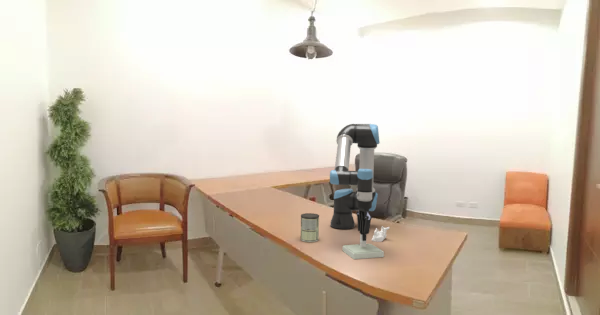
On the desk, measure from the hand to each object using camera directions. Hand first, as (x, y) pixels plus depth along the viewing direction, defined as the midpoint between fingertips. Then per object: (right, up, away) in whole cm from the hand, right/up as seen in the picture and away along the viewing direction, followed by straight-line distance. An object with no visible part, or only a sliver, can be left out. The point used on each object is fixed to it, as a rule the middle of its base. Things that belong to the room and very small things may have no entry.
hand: (362, 246), depth 201 cm
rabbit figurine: (+14, -3, +23) cm, 27 cm away
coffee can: (-26, -2, +25) cm, 36 cm away
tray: (0, -4, 0) cm, 4 cm away
